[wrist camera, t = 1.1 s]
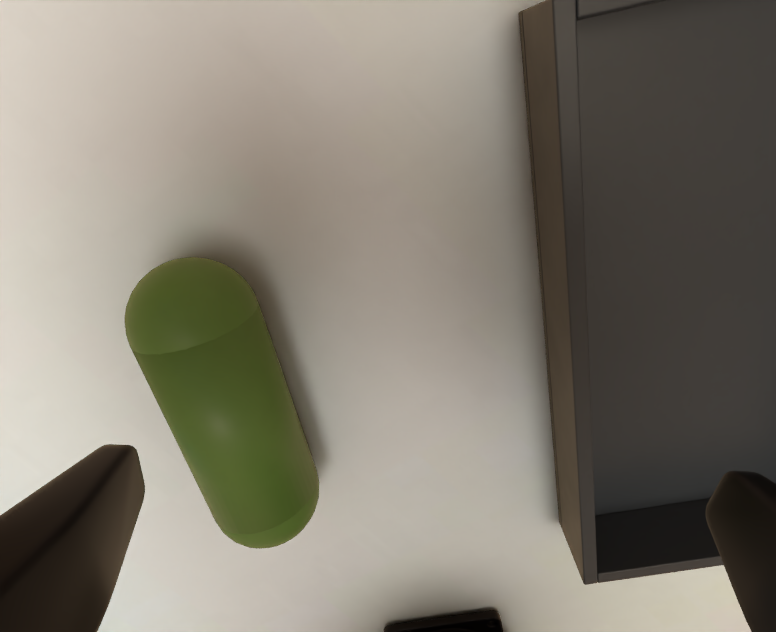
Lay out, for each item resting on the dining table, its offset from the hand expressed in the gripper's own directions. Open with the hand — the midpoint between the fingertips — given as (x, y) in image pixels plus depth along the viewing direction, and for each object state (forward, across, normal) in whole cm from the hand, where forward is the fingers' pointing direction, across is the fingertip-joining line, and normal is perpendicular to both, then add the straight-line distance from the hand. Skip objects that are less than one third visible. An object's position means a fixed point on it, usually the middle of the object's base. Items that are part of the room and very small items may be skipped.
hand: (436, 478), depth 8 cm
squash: (+12, +6, +7) cm, 15 cm away
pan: (+12, -12, +2) cm, 17 cm away
